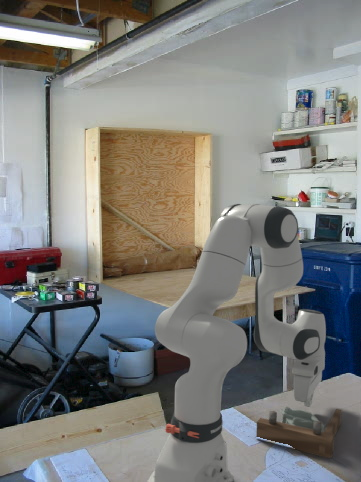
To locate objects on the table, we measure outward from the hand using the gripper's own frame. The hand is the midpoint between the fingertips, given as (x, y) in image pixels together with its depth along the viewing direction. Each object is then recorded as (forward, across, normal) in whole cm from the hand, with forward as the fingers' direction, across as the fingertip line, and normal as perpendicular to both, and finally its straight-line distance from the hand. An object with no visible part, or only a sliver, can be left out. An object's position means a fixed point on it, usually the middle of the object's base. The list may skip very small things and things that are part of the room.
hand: (308, 405), depth 154 cm
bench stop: (+2, +13, +2) cm, 13 cm away
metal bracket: (+3, +11, +1) cm, 11 cm away
